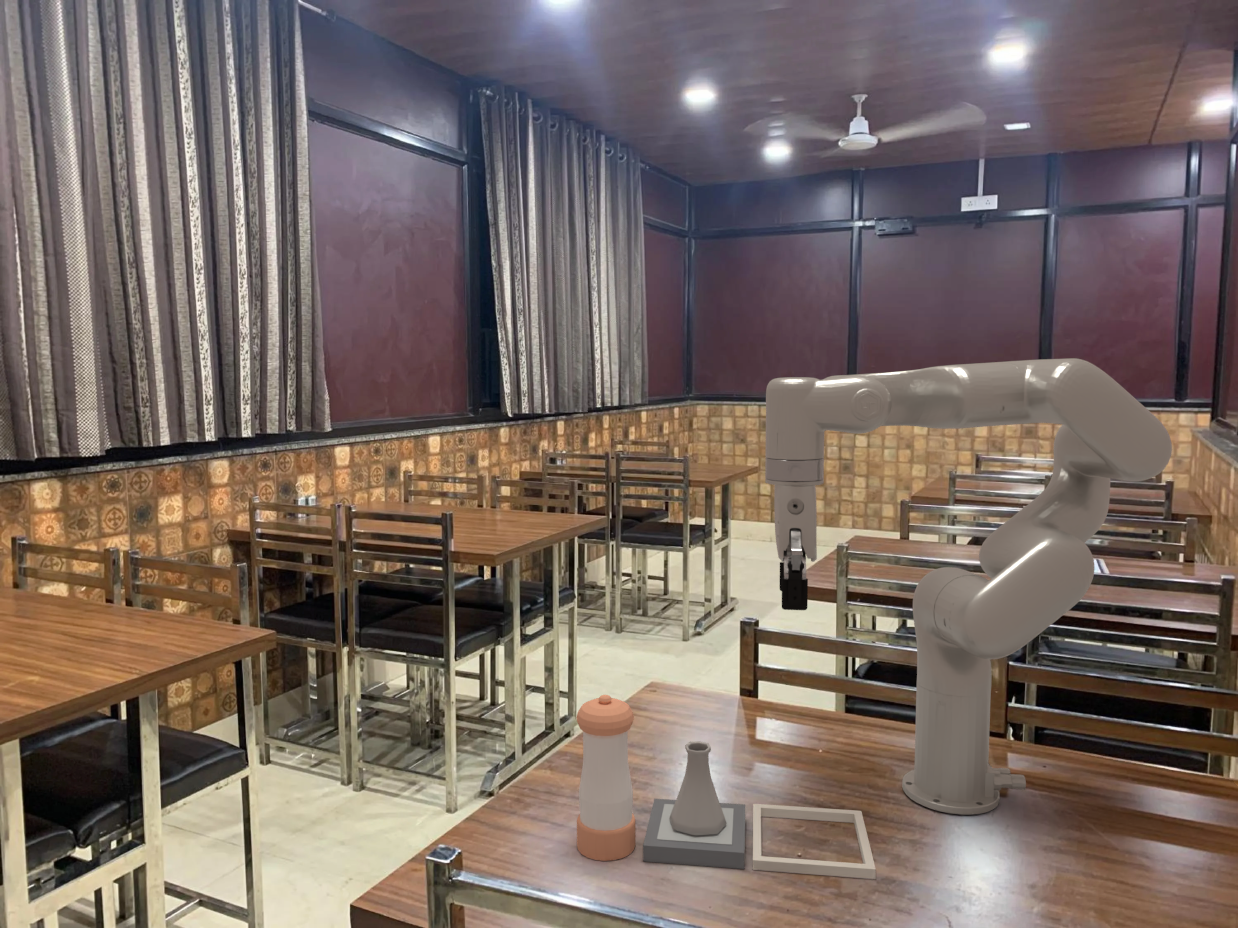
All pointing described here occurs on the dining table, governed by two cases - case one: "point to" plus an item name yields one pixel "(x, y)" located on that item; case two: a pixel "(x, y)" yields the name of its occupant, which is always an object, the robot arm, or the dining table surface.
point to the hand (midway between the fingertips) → (792, 599)
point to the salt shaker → (605, 781)
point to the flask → (697, 796)
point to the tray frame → (813, 866)
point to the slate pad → (695, 839)
